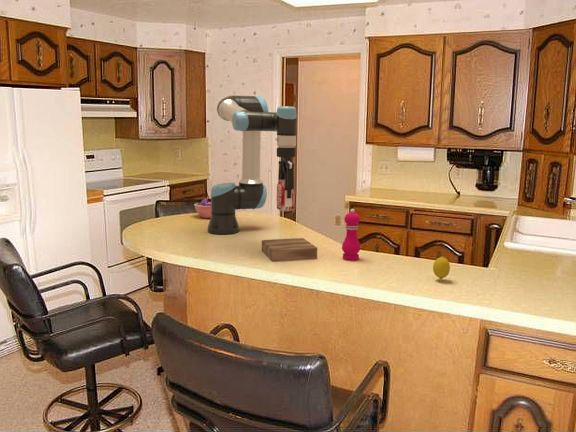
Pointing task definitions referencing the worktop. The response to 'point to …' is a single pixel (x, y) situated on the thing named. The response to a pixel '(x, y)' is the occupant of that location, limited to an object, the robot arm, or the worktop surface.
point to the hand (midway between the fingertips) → (285, 205)
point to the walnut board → (289, 249)
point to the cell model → (204, 209)
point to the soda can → (283, 197)
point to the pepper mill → (351, 237)
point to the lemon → (441, 267)
